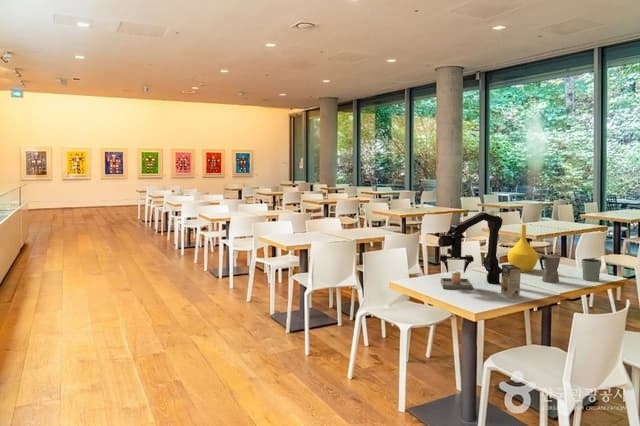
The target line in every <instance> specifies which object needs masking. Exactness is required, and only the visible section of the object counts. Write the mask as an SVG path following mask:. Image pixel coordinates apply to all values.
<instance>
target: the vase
mask: <svg viewBox="0 0 640 426" xmlns="http://www.w3.org/2000/svg"><path fill="white" fill-rule="evenodd" d="M538 256H539V255H538V252H537V251H536V250H535V248H534V247H532V246H531V244H530V243H529V242H528V241H527V225H526V224H521V229H520V239H519V241H518V242H517V243H516V244H515V245H514V246H513V247H512V248H511V249H509V250H508V253H507V260H508V263H509V264H508V265H515V266H517V267H519V268H521V272H520V273H522V272H523V273H528V272H531V271H533V270H534V268H535V267H536V265H537V263H538V261H539V260H538V259H539V257H538Z"/></svg>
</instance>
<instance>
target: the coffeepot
mask: <svg viewBox="0 0 640 426" xmlns="http://www.w3.org/2000/svg"><path fill="white" fill-rule="evenodd" d="M561 258H562V257H561V256H560V255H557V254H556V255H555V254H554V251H552V250H551V251H550V254H544V255H542V256H540V258H538V259H539V260H538V261H539V265H540V269H541V270H542V271H543V275H542V280H541V281H542V282H543V283H548V284H558V283H559V282H560V278H559V271H558V269H559V265H560V261H561Z"/></svg>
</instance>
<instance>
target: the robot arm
mask: <svg viewBox="0 0 640 426" xmlns="http://www.w3.org/2000/svg"><path fill="white" fill-rule="evenodd" d="M483 221H485V222H487V228H488V230H489V234H488V245H487V246H488V247H487V248H488V249H487V255H486V256H483V260H482V261H483V262H482V265H483V268H484V269H485V271H486V272H487V274H486V282H487V283H488V284H492V285H493V284H495V285H496V284H497V285H498V284H501V280H500V278H501V277H500V276H501V275H502V267H500V265H499V260H498V257H497V251H498V242H499V241H498V240H499V231H500V230H501V228H502V226H503V223H504V222H503V218H502V217H501V216H498V215H493V214H489V213H487V212H485V211H484V212H483V211H481V212H479V213H477V214H475V215H473V216H471V217H470V218H467V219H465V220H463V221H461V222H456V223H453V224H451V225H450V227H449V229H448V231H447V232H446V234H439V235H440V236H439V238H438V240H437V244H438V247H440V248H444V247H445V248H446V247H447V250H446V253H447V254H439V255H438V260H439V262H441V263H443V264H444V266H445V270H446V273H449V267H448V266H449V264H448V260H449V261H450V260H455V261H458V260H459V261H462V260H463V262H464V263H463V264H464V265H463V274H465V273H466V270H467V269H468V267H469V265H470V264H472V262H474V261H475V260H474V256H473V255H472V254H465V255H464V256H463V255H462V248H463V247H462V245H463V244H462V241H463V239H466V236H465V235H464V233H465V232H466V231H467V230H468V229H469V228H471V227H473V226H475V225H477V224H479V223H481V222H483ZM500 274H501V275H500Z"/></svg>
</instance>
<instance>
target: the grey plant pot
mask: <svg viewBox="0 0 640 426" xmlns="http://www.w3.org/2000/svg"><path fill="white" fill-rule="evenodd" d="M601 266H602V260H600V259H598V258H597V259H596V258H582V259H581V267H582V279H583V281H586V282H593V281H596V282H599V281H600V274H601Z"/></svg>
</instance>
